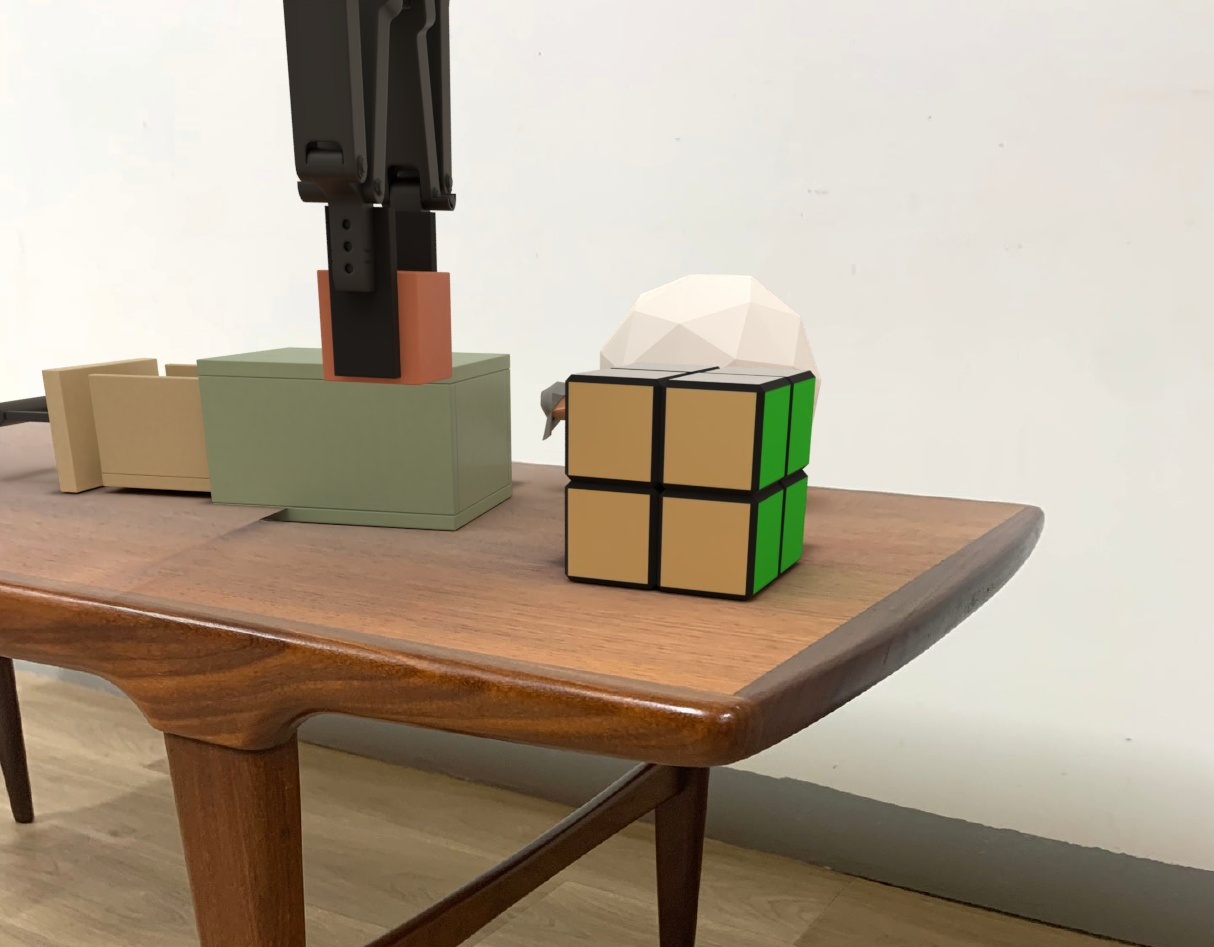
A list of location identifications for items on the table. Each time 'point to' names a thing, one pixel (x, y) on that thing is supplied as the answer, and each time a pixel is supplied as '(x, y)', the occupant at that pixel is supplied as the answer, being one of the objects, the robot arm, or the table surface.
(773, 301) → the person on sphere
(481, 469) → the cabinet
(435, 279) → the block
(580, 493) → the puzzle cube
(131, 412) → the drawer
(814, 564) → the table surface
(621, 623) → the table surface
